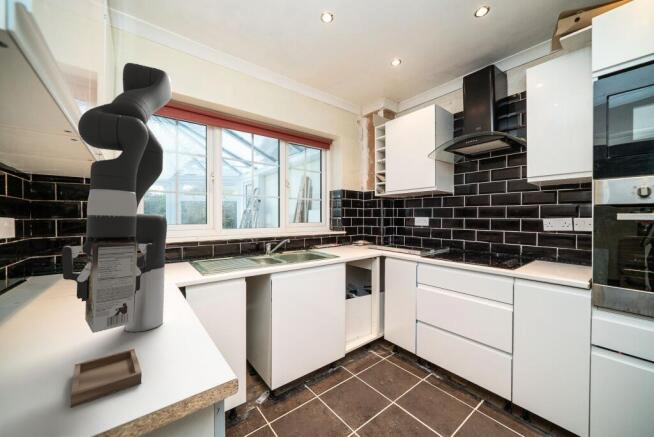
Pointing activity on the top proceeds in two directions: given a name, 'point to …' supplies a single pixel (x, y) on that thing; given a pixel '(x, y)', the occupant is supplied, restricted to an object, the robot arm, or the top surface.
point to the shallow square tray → (105, 376)
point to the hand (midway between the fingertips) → (110, 296)
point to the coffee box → (111, 285)
